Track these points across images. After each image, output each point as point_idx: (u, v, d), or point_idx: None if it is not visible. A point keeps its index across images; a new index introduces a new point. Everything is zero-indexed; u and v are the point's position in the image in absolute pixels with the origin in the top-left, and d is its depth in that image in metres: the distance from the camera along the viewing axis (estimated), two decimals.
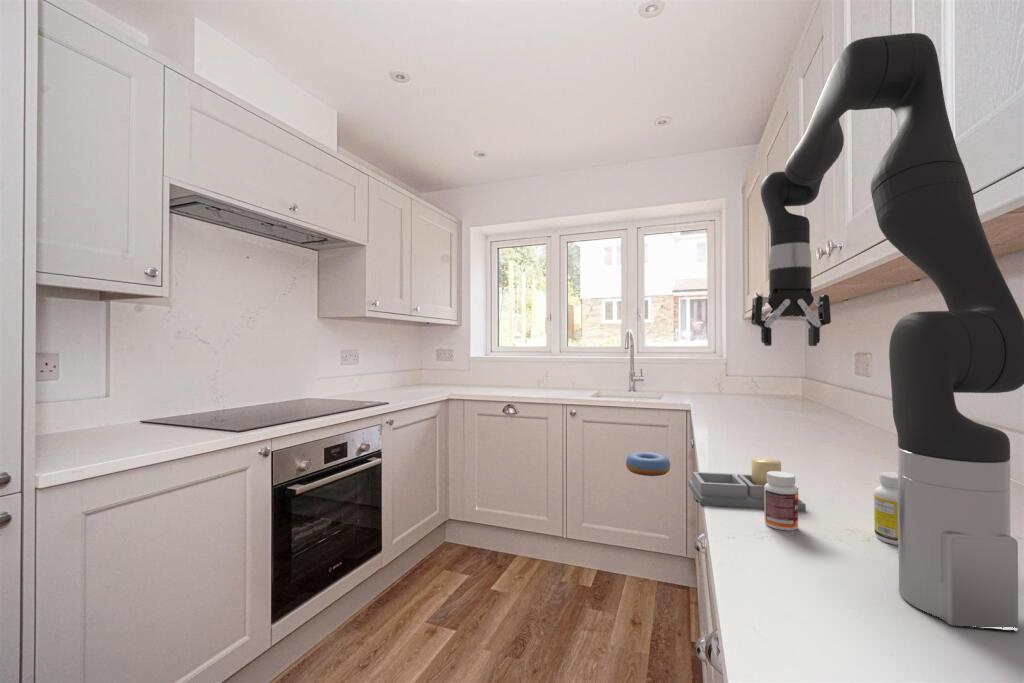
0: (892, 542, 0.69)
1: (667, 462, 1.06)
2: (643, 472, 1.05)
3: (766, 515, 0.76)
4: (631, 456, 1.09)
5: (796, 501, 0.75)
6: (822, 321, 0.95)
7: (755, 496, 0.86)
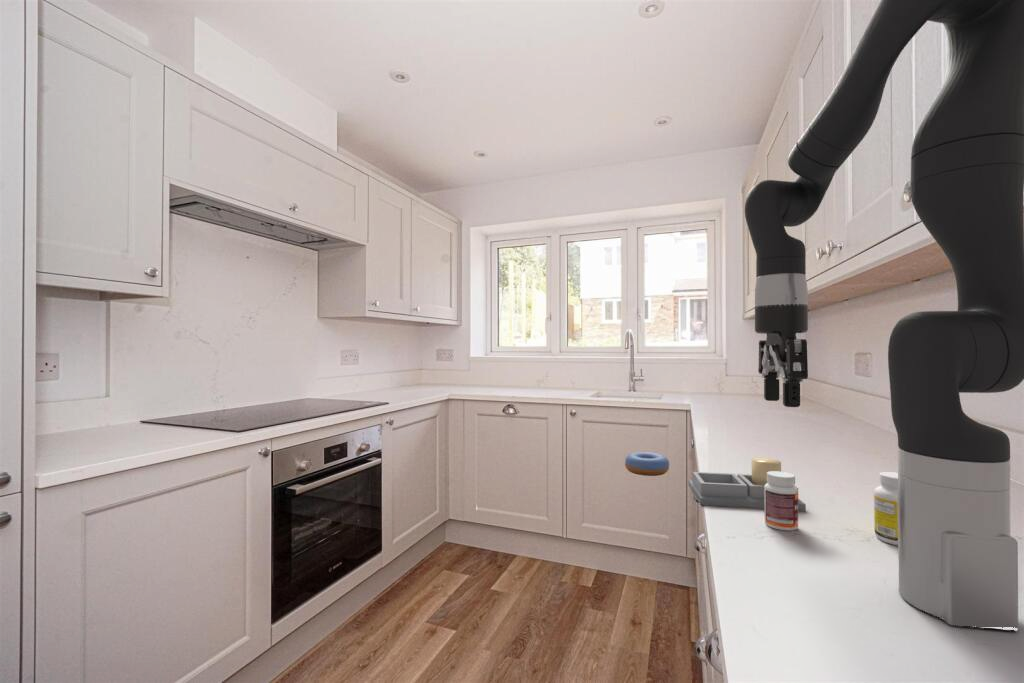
0: (892, 542, 0.69)
1: (666, 462, 1.06)
2: (642, 472, 1.05)
3: (766, 515, 0.76)
4: (630, 456, 1.09)
5: (796, 501, 0.75)
6: None
7: (755, 496, 0.86)
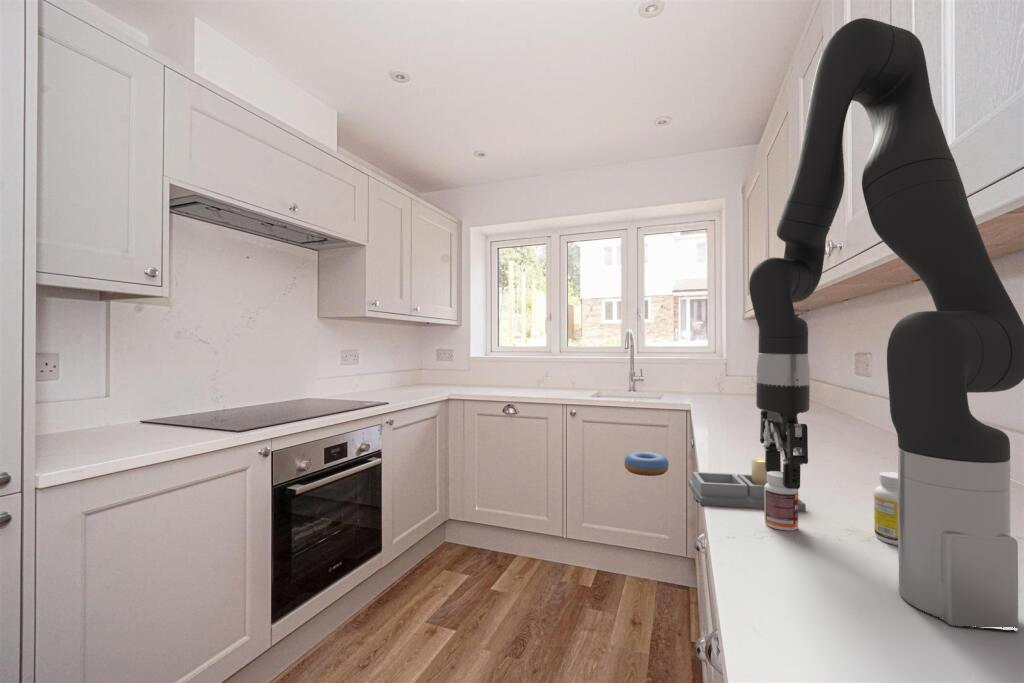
0: (892, 542, 0.69)
1: (665, 462, 1.06)
2: (641, 472, 1.05)
3: (766, 515, 0.76)
4: (629, 456, 1.09)
5: (796, 501, 0.75)
6: None
7: (755, 496, 0.86)
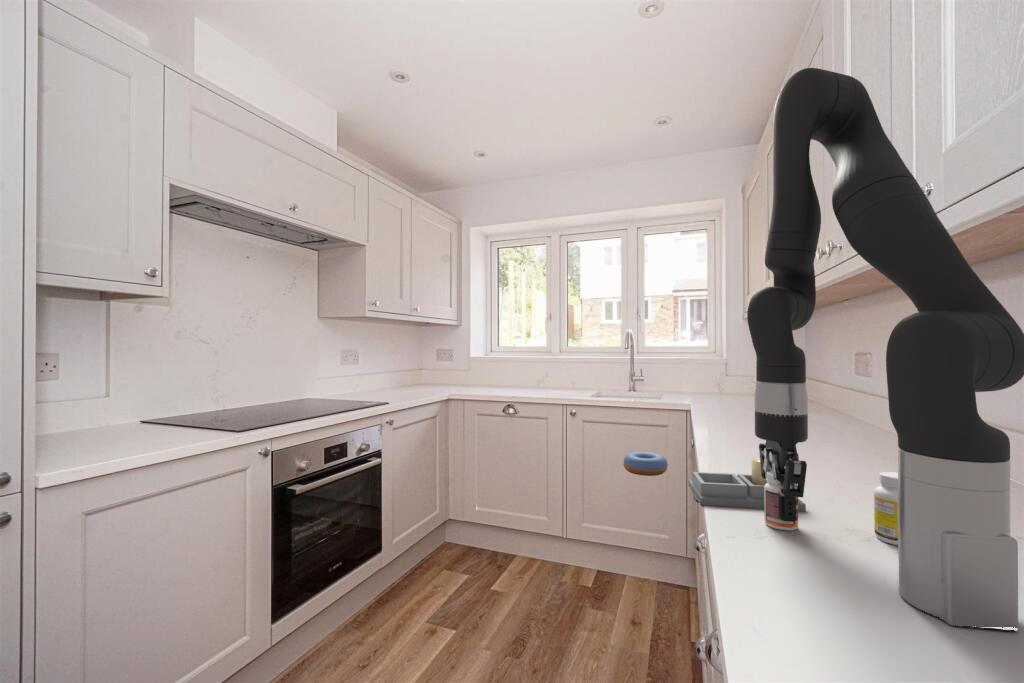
0: (892, 542, 0.69)
1: (664, 462, 1.06)
2: (640, 472, 1.05)
3: (766, 515, 0.76)
4: (628, 456, 1.09)
5: (796, 501, 0.75)
6: None
7: (755, 496, 0.86)
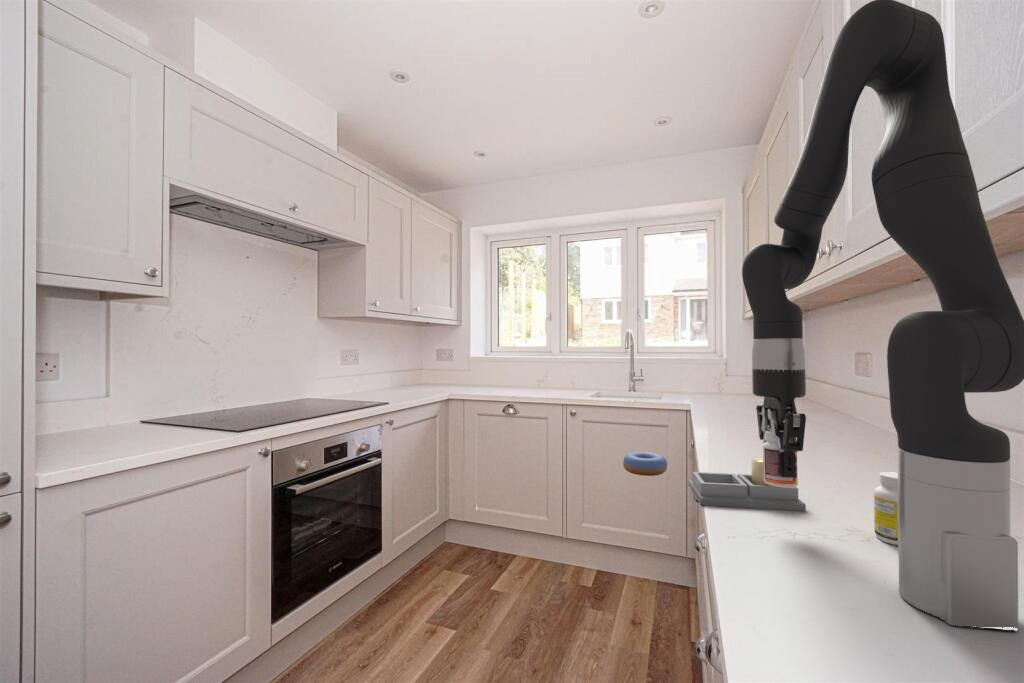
0: (892, 542, 0.69)
1: (664, 462, 1.06)
2: (640, 472, 1.05)
3: (765, 474, 0.76)
4: (628, 456, 1.09)
5: (796, 458, 0.74)
6: None
7: (755, 496, 0.86)
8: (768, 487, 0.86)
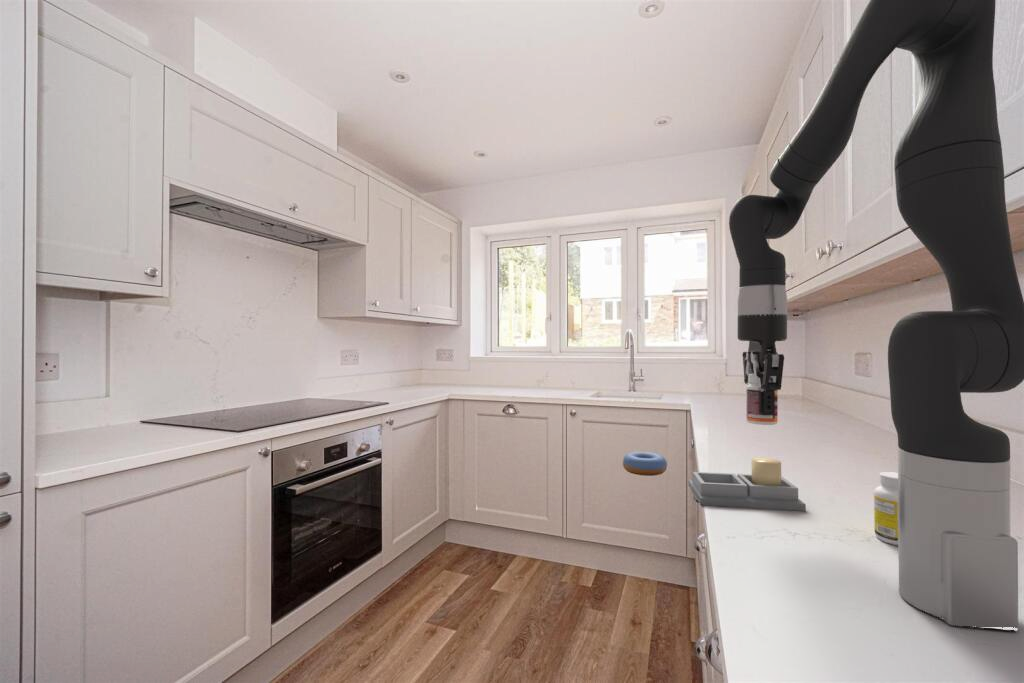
0: (892, 542, 0.69)
1: (664, 462, 1.06)
2: (640, 472, 1.05)
3: (748, 413, 0.81)
4: (628, 456, 1.09)
5: (776, 398, 0.79)
6: None
7: (755, 496, 0.86)
8: (768, 487, 0.86)
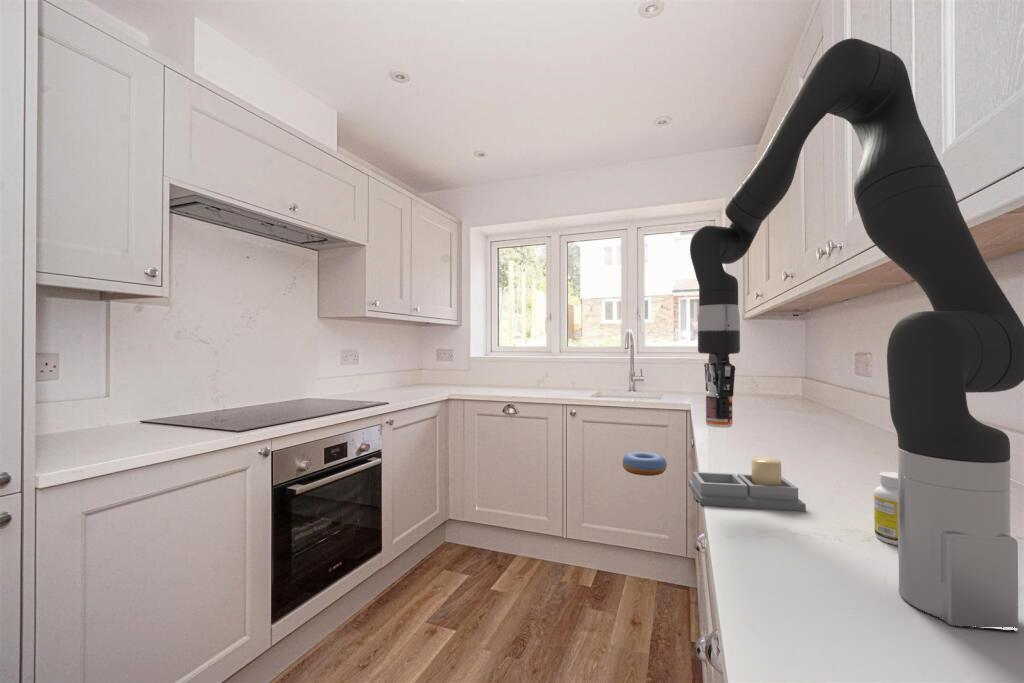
0: (892, 542, 0.69)
1: (663, 462, 1.06)
2: (639, 472, 1.05)
3: (706, 417, 0.91)
4: (627, 456, 1.09)
5: (731, 403, 0.89)
6: None
7: (755, 496, 0.86)
8: (768, 487, 0.86)
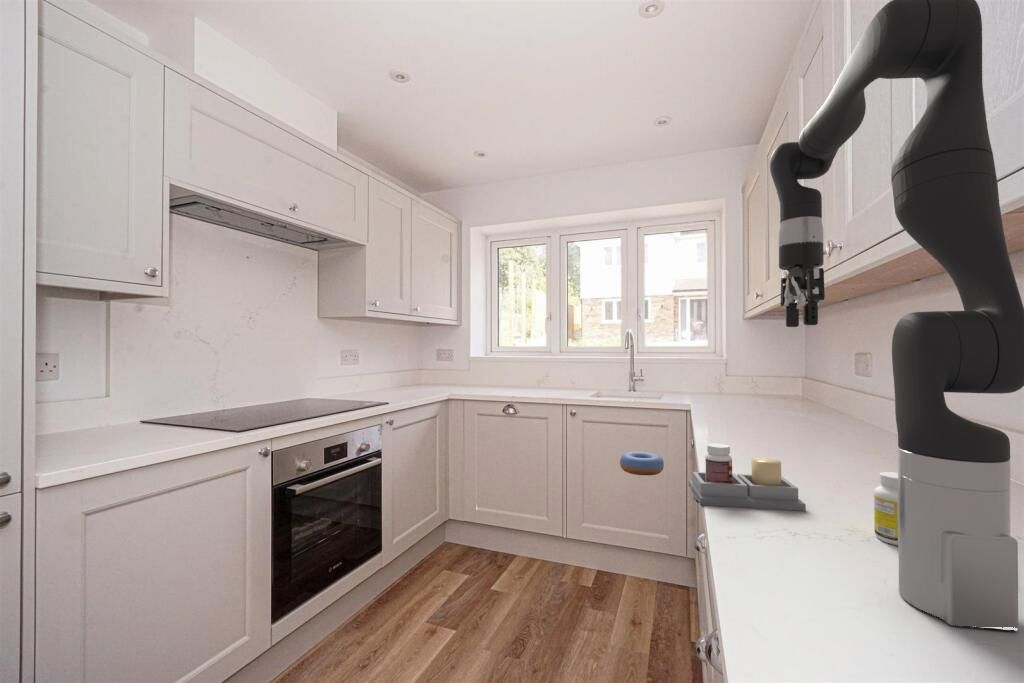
0: (892, 542, 0.69)
1: (661, 461, 1.07)
2: (637, 471, 1.05)
3: (706, 480, 0.91)
4: (625, 456, 1.09)
5: (730, 467, 0.89)
6: None
7: (755, 496, 0.86)
8: (768, 487, 0.86)
